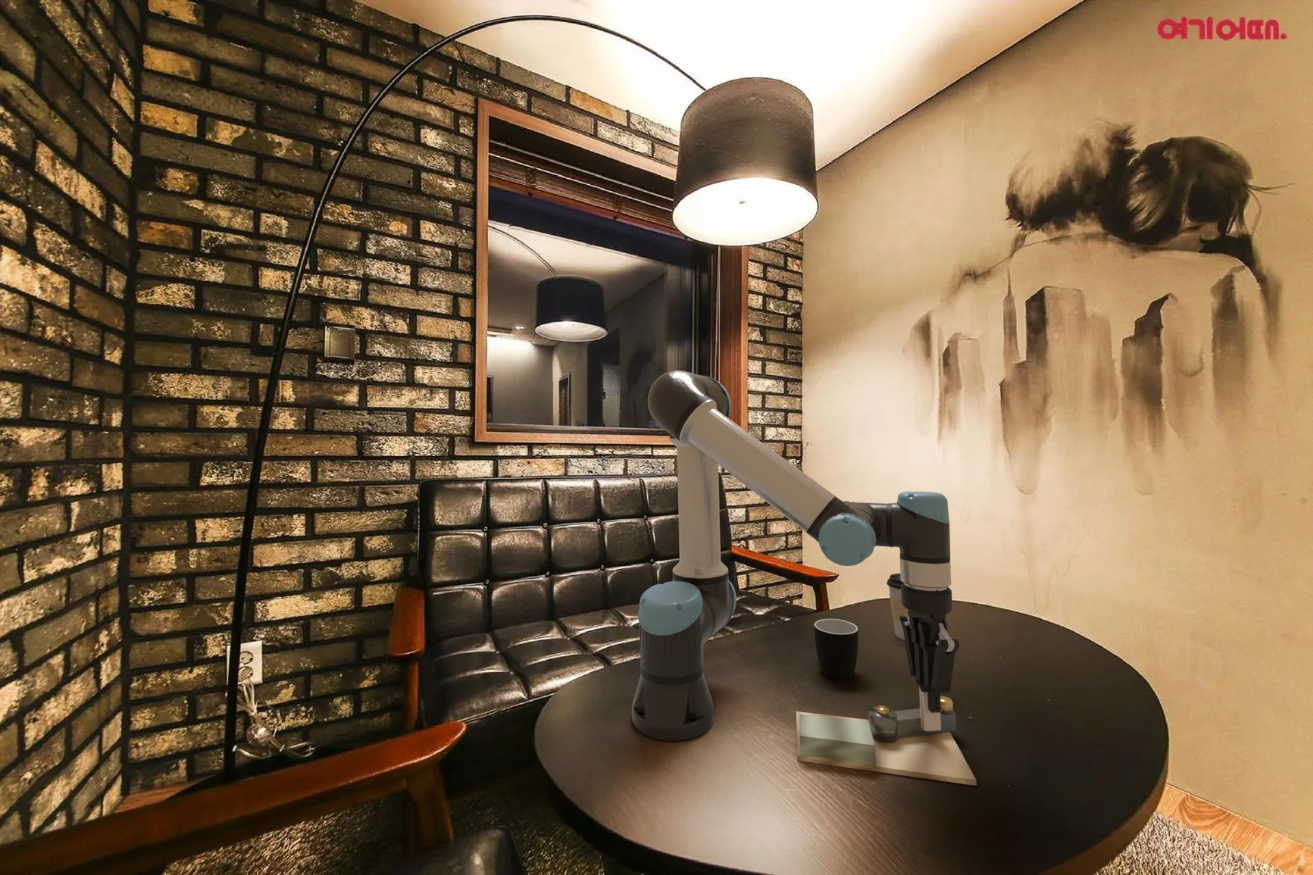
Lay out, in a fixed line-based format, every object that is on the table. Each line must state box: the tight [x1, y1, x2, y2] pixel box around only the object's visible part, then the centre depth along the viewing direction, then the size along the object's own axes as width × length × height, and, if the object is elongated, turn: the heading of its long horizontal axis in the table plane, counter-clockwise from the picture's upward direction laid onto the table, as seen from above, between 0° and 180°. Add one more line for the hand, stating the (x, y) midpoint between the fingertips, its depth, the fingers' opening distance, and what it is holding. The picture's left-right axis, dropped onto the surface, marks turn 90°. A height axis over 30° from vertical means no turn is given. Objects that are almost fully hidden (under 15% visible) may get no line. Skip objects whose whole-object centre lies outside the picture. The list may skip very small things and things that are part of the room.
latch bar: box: [867, 695, 957, 742], centre depth 83 cm, size 15×4×5 cm, turn 99°
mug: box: [813, 618, 859, 680], centre depth 108 cm, size 12×9×10 cm
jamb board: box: [795, 711, 977, 786], centre depth 81 cm, size 25×13×4 cm, turn 75°
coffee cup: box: [886, 572, 908, 641], centre depth 125 cm, size 9×9×15 cm
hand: (930, 728), depth 82 cm, fingers closed
